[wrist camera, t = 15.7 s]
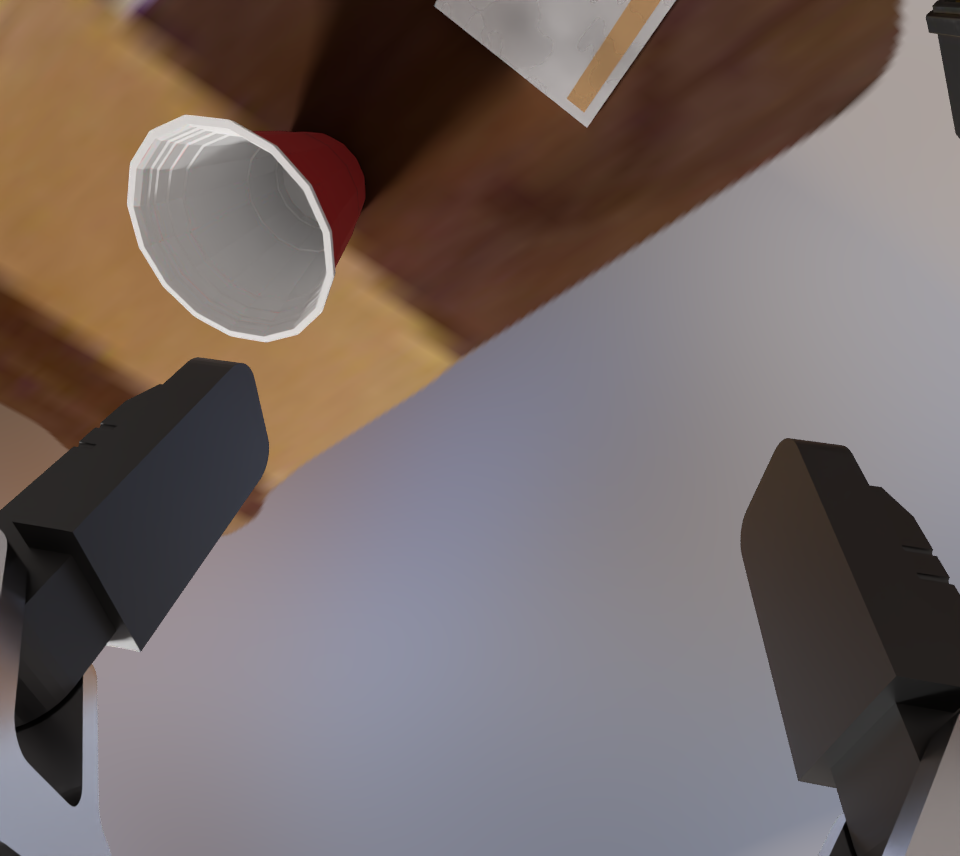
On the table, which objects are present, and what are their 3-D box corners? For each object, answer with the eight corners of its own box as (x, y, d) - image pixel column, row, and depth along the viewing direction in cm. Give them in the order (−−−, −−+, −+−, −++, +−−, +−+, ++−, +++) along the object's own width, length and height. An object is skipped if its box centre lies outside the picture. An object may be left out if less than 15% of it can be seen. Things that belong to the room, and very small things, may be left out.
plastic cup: (280, 36, 33) (150, 55, 23) (434, 165, 35) (374, 229, 26) (216, 191, 39) (92, 255, 29) (352, 290, 42) (279, 379, 32)
